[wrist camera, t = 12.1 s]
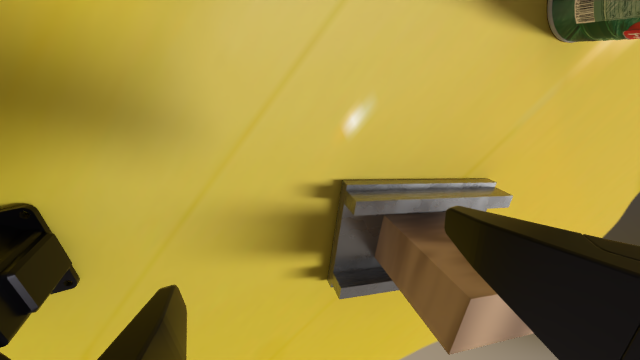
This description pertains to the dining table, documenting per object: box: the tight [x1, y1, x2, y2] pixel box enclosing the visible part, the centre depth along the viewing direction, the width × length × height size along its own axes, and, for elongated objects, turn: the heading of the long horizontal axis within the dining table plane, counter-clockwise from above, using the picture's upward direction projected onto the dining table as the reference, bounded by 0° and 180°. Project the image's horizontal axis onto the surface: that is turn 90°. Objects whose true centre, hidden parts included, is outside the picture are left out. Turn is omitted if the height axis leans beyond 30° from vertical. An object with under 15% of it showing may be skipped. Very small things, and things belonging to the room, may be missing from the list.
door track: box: [327, 179, 513, 299], centre depth 27 cm, size 16×10×3 cm, turn 83°
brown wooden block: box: [375, 212, 533, 355], centre depth 23 cm, size 8×4×10 cm, turn 83°
